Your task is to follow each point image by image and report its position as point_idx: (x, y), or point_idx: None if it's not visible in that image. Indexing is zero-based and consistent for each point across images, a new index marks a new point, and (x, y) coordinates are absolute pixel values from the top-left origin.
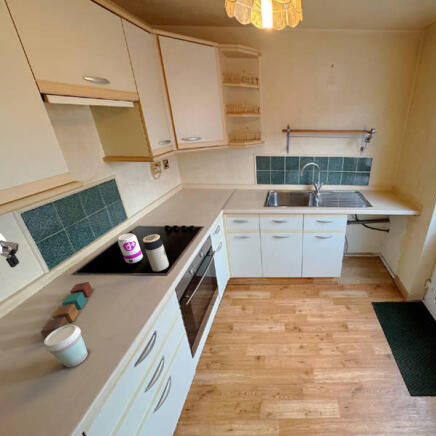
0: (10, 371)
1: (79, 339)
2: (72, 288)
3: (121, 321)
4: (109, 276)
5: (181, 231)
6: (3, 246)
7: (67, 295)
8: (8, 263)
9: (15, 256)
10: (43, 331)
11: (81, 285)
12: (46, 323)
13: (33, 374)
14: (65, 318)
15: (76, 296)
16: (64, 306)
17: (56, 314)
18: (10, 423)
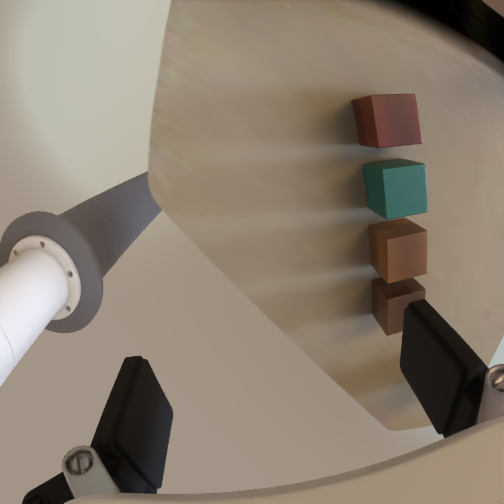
0: (339, 376)
1: None
2: (377, 126)
3: (500, 271)
4: (405, 26)
5: None
6: (501, 485)
7: (383, 173)
8: (417, 397)
9: (483, 369)
10: (391, 332)
11: (402, 114)
12: (388, 310)
13: (386, 379)
14: (423, 288)
15: (419, 189)
16: (405, 240)
17: (398, 276)
18: (391, 426)
